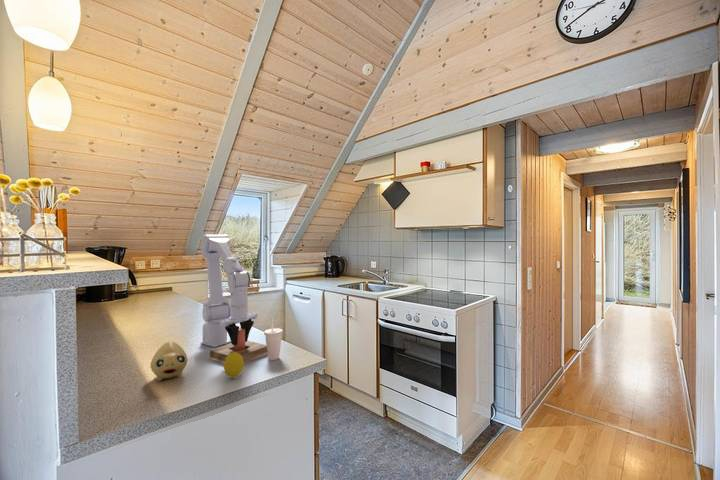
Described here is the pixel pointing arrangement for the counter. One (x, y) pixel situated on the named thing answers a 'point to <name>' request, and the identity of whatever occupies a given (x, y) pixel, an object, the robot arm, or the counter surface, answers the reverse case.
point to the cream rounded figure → (169, 361)
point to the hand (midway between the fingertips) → (239, 342)
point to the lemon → (233, 364)
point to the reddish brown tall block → (240, 340)
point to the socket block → (247, 354)
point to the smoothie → (273, 342)
